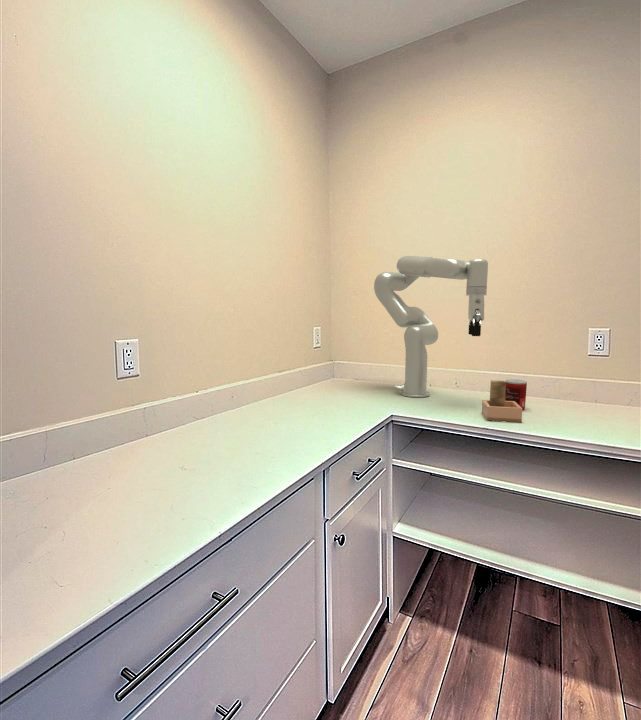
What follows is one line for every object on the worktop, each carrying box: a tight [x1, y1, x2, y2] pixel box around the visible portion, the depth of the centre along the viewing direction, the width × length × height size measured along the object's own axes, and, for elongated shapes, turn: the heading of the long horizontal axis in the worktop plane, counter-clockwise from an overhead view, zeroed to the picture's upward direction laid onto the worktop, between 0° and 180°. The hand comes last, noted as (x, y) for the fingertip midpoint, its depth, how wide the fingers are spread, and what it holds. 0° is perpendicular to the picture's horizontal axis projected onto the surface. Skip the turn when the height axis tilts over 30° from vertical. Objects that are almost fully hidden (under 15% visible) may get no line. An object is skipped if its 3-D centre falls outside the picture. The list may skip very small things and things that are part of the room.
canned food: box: [504, 378, 528, 411], centre depth 165 cm, size 8×8×11 cm
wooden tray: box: [481, 399, 523, 424], centre depth 152 cm, size 11×11×5 cm
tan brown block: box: [489, 380, 506, 407], centre depth 151 cm, size 4×3×12 cm, turn 78°
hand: (474, 335), depth 168 cm, fingers open, 9 cm apart
